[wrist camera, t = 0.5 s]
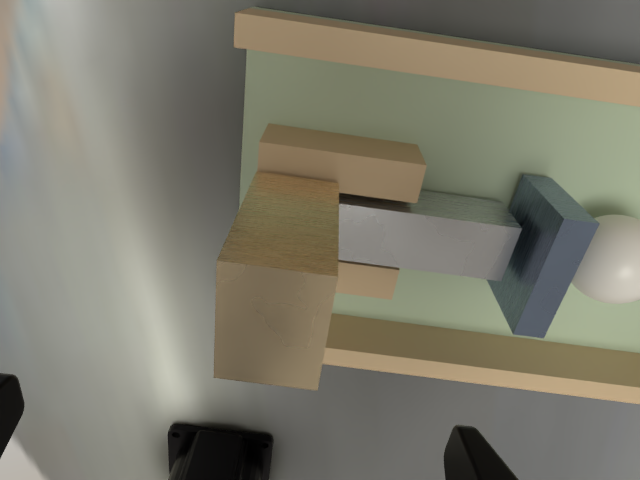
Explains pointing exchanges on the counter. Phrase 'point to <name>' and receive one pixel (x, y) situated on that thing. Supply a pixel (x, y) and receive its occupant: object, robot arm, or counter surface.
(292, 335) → the tan and grey block
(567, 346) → the pitch
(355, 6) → the counter surface
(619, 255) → the ball
